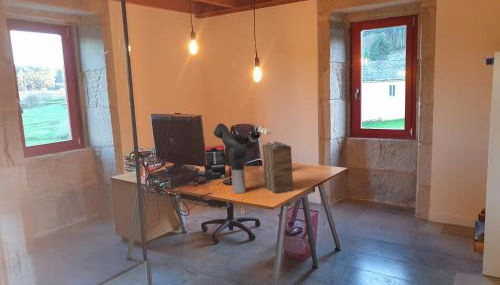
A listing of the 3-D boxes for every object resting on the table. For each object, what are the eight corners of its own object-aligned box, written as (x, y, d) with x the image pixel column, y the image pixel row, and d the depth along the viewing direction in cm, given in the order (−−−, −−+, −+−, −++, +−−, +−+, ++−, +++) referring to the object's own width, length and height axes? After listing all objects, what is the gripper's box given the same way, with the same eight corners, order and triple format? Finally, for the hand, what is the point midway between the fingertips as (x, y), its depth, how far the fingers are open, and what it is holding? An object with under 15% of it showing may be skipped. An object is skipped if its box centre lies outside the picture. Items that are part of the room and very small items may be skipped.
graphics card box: (225, 175, 322) (223, 144, 317) (226, 178, 315) (223, 145, 310) (205, 178, 320) (202, 146, 315) (205, 180, 313) (202, 147, 308)
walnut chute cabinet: (265, 187, 284) (262, 143, 278) (282, 184, 288) (280, 140, 282) (275, 194, 267) (272, 147, 261) (293, 190, 272) (290, 144, 265)
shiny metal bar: (254, 130, 304) (254, 126, 304) (259, 130, 306) (259, 126, 305) (266, 134, 282) (266, 130, 281) (271, 134, 283) (271, 129, 283)
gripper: (245, 132, 312) (250, 124, 296) (261, 130, 316) (267, 122, 301) (247, 141, 309) (253, 133, 294) (263, 139, 314) (270, 131, 299)
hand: (260, 127), depth 297 cm, fingers closed on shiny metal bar, 4 cm apart
